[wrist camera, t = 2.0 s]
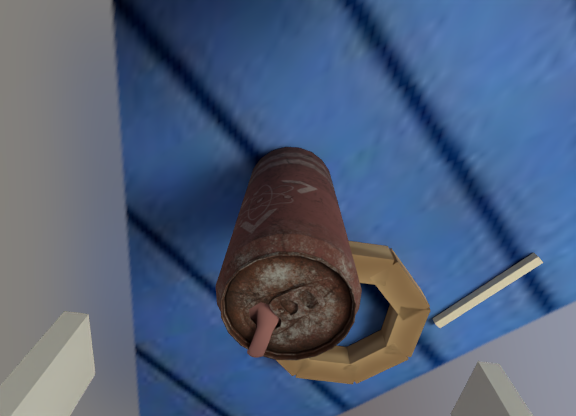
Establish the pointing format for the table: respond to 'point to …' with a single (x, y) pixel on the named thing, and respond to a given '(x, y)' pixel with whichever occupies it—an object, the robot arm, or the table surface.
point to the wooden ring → (385, 343)
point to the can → (289, 262)
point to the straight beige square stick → (488, 290)
